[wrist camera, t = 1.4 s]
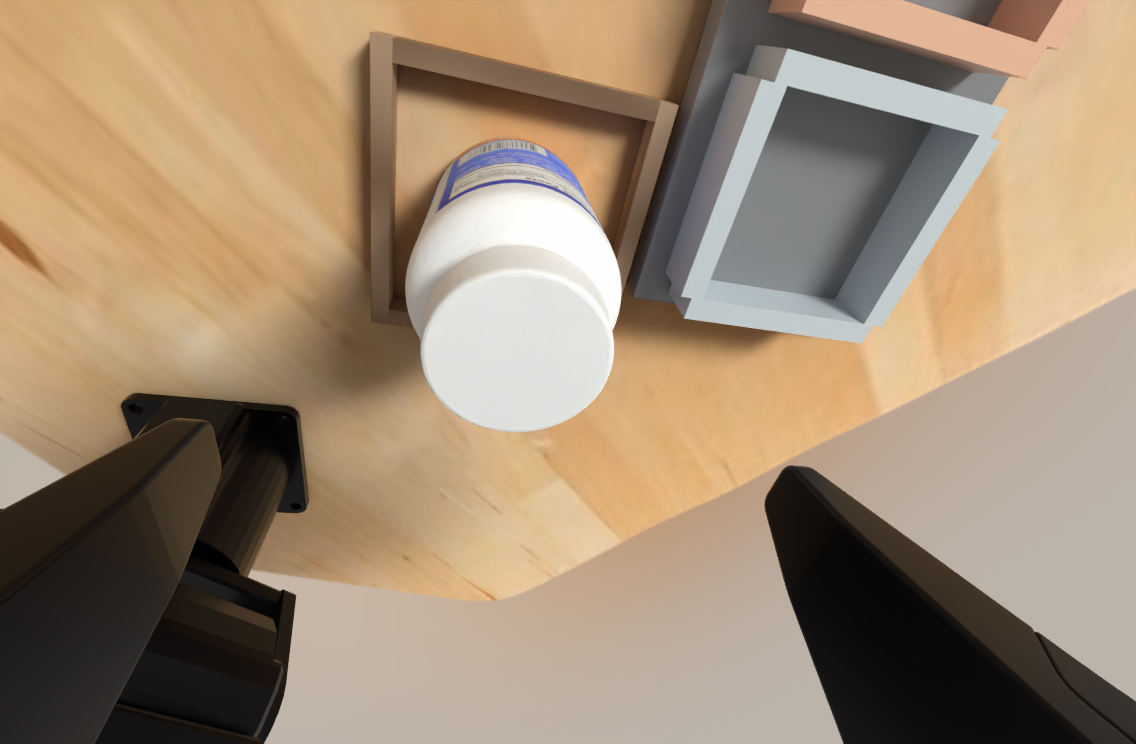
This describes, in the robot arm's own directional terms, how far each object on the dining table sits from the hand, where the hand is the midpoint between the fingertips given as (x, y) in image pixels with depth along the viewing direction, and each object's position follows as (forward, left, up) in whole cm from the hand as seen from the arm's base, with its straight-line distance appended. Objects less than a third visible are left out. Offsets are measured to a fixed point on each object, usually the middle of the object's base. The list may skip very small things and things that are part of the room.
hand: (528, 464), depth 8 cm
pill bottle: (0, 0, -13) cm, 13 cm away
